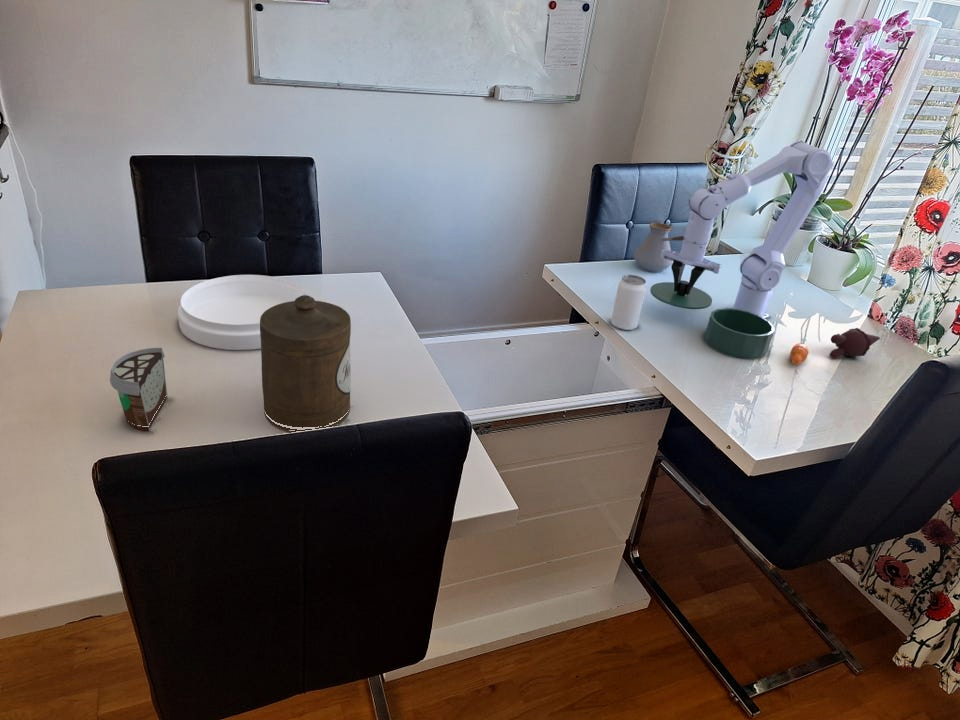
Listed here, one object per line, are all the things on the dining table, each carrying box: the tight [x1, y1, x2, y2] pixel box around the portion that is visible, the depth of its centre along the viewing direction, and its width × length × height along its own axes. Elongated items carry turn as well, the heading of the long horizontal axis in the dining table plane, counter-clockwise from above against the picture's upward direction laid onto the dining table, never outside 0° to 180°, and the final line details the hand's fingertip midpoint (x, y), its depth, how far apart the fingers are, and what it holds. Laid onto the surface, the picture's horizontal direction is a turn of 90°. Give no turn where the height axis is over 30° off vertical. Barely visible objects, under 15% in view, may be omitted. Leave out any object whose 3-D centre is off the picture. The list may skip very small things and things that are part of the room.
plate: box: [177, 274, 306, 351], centre depth 144 cm, size 27×27×5 cm
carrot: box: [789, 342, 810, 366], centre depth 154 cm, size 10×4×4 cm
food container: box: [109, 347, 169, 433], centre depth 110 cm, size 12×6×10 cm, turn 5°
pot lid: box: [649, 279, 713, 310], centre depth 168 cm, size 15×15×4 cm
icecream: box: [829, 327, 881, 359], centre depth 159 cm, size 7×7×15 cm
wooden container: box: [260, 294, 352, 433], centre depth 113 cm, size 15×15×22 cm
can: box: [610, 274, 647, 331], centre depth 160 cm, size 6×6×12 cm
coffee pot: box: [633, 222, 684, 273], centre depth 193 cm, size 21×12×15 cm, turn 18°
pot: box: [704, 307, 775, 360], centre depth 158 cm, size 14×14×6 cm
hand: (681, 292), depth 168 cm, fingers closed on pot lid, 2 cm apart
